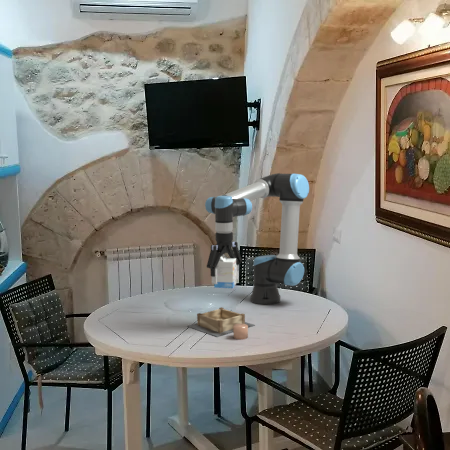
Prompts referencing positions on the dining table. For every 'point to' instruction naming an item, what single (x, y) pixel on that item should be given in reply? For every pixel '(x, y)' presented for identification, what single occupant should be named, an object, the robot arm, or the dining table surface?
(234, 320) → the crate
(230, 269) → the ink box
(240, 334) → the brown egg
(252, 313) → the dining table surface
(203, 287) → the dining table surface
